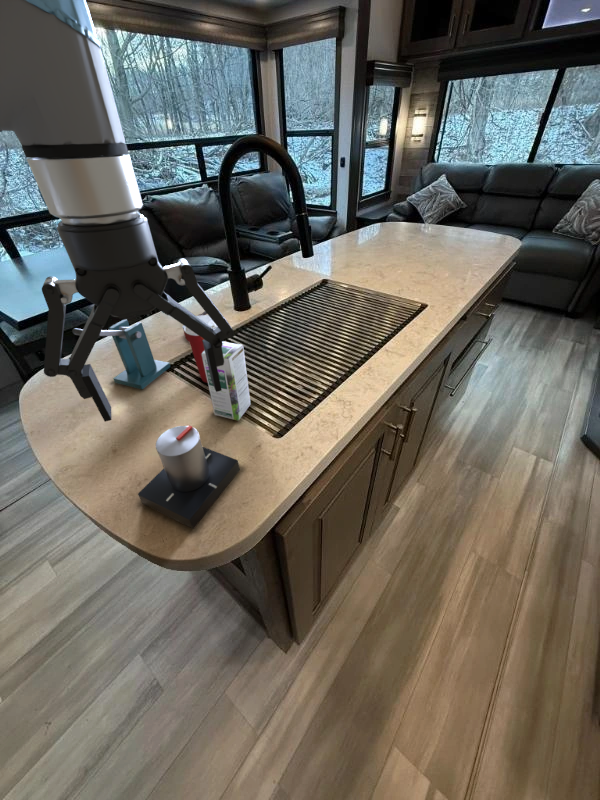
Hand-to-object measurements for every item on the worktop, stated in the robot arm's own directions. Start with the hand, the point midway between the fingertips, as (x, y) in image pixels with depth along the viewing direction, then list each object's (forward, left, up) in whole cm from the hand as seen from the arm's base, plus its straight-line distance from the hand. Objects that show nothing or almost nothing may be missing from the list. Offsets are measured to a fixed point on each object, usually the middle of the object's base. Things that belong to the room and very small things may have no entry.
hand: (165, 399), depth 43 cm
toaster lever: (-8, +34, -6) cm, 36 cm away
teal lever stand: (-5, +37, -18) cm, 42 cm away
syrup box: (+11, +15, -18) cm, 26 cm away
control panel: (0, -1, -18) cm, 18 cm away
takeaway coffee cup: (+12, +51, -18) cm, 56 cm away
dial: (0, -1, -15) cm, 15 cm away
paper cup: (+10, +29, -18) cm, 36 cm away
